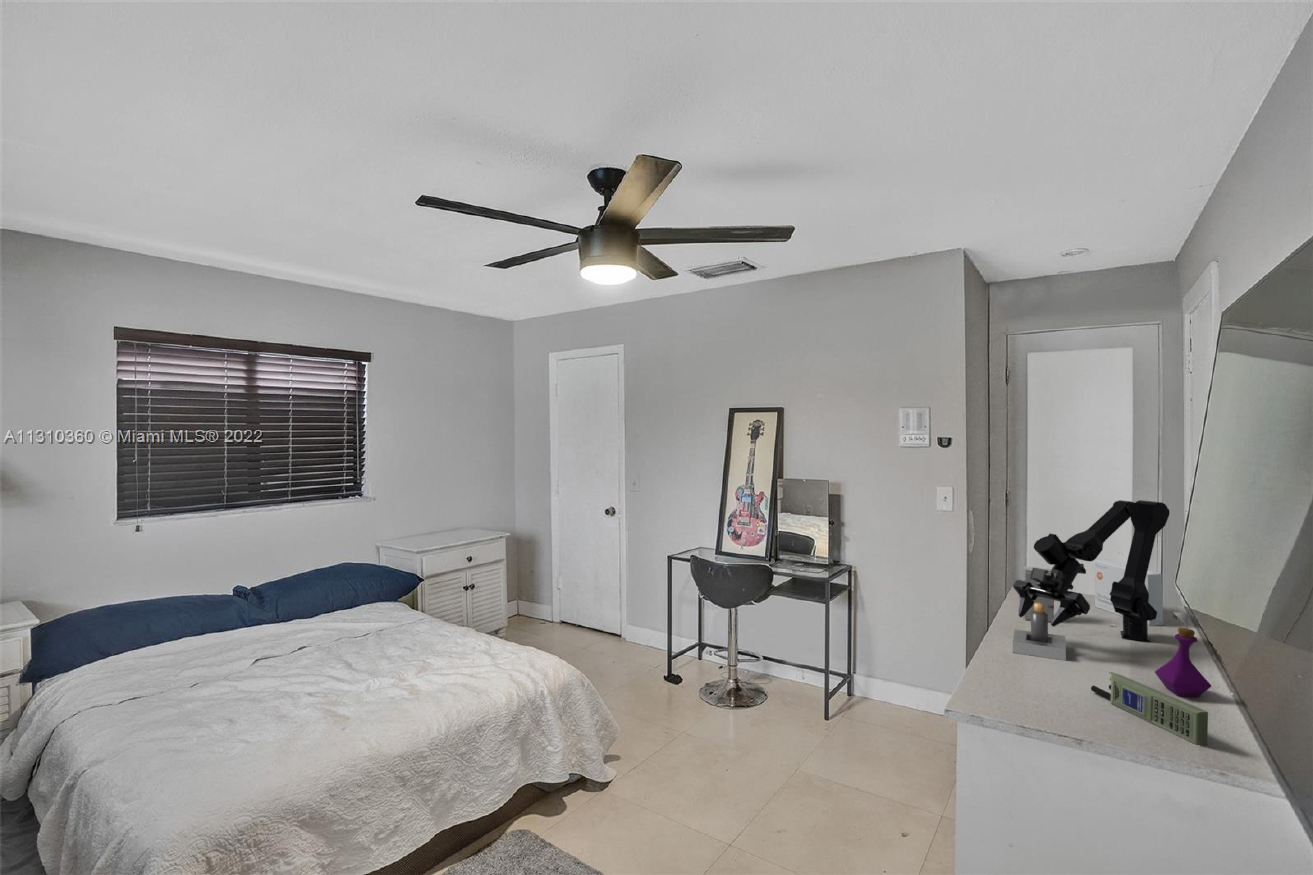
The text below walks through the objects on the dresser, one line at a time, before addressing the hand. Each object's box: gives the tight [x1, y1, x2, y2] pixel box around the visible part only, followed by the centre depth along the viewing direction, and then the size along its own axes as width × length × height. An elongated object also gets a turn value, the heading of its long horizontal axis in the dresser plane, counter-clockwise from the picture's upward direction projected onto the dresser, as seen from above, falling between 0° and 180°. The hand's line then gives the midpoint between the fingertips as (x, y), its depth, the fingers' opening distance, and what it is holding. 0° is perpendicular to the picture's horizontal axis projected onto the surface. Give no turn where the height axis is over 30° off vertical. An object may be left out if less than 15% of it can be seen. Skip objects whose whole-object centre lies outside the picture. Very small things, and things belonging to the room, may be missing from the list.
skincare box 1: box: [1021, 566, 1055, 623], centre depth 202 cm, size 8×7×16 cm
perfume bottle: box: [1154, 612, 1212, 698], centre depth 144 cm, size 8×8×18 cm
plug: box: [1030, 603, 1049, 643], centre depth 173 cm, size 4×4×12 cm
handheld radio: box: [1090, 671, 1209, 746], centre depth 133 cm, size 7×3×25 cm
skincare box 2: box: [1093, 559, 1164, 627], centre depth 204 cm, size 21×6×16 cm, turn 6°
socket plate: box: [1012, 629, 1067, 661], centre depth 173 cm, size 12×12×3 cm
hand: (1035, 620), depth 173 cm, fingers open, 9 cm apart
